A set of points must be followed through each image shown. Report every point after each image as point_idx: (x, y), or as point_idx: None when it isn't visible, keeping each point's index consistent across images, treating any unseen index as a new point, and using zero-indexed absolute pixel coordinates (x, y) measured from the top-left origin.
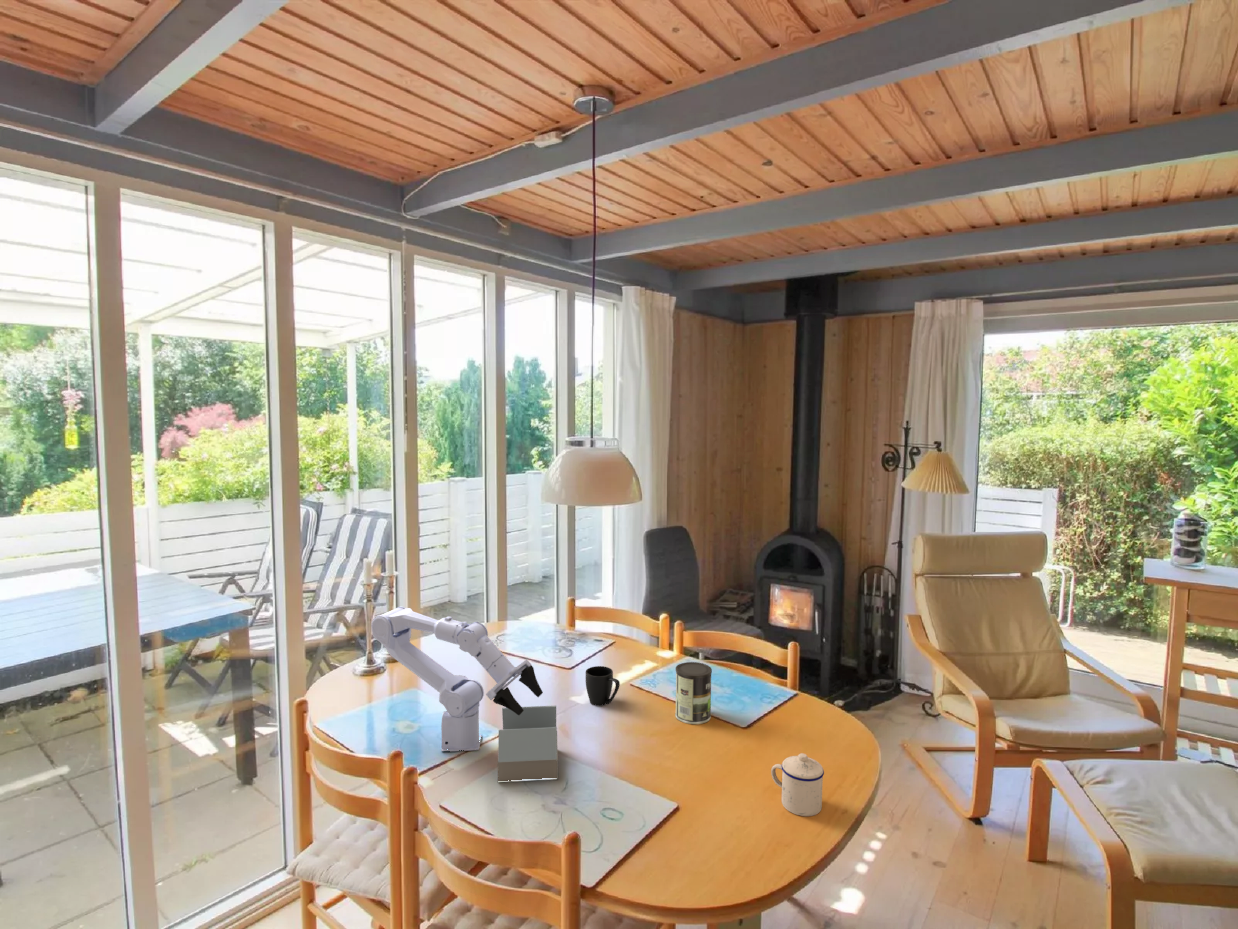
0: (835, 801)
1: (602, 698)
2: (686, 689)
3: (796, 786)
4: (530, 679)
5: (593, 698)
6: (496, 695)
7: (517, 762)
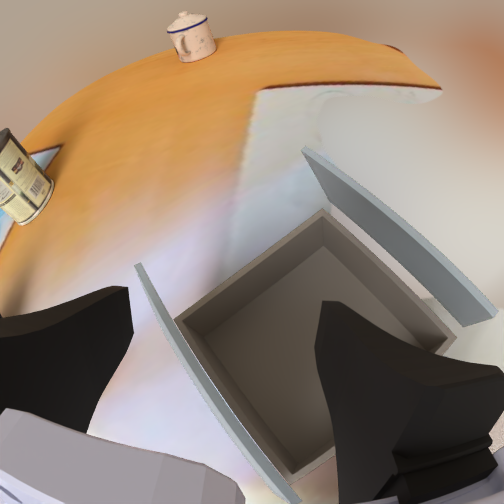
0: None
1: None
2: (16, 158)
3: (208, 25)
4: (56, 346)
5: None
6: (484, 458)
7: (412, 292)
